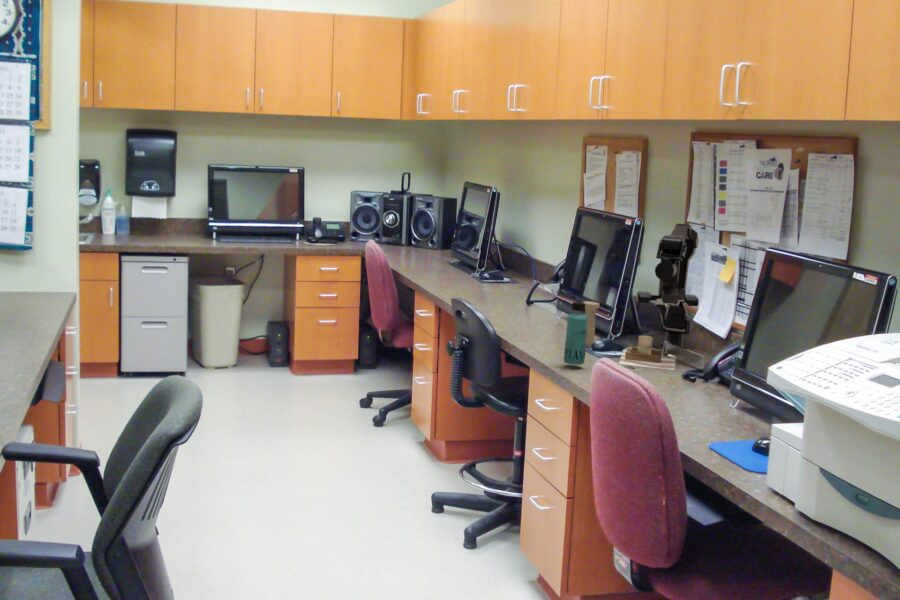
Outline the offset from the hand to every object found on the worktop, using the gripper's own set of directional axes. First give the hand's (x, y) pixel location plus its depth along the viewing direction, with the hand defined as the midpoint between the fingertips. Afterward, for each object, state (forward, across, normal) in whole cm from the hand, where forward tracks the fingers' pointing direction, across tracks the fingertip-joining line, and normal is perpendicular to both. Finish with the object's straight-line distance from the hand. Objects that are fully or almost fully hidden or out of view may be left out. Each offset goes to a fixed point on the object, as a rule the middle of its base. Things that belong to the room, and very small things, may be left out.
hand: (664, 325), depth 308 cm
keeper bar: (+11, +6, -2) cm, 13 cm away
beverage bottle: (+12, -28, -15) cm, 34 cm away
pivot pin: (+11, -5, +2) cm, 12 cm away
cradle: (+12, -4, -1) cm, 13 cm away
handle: (+12, -22, +16) cm, 30 cm away
